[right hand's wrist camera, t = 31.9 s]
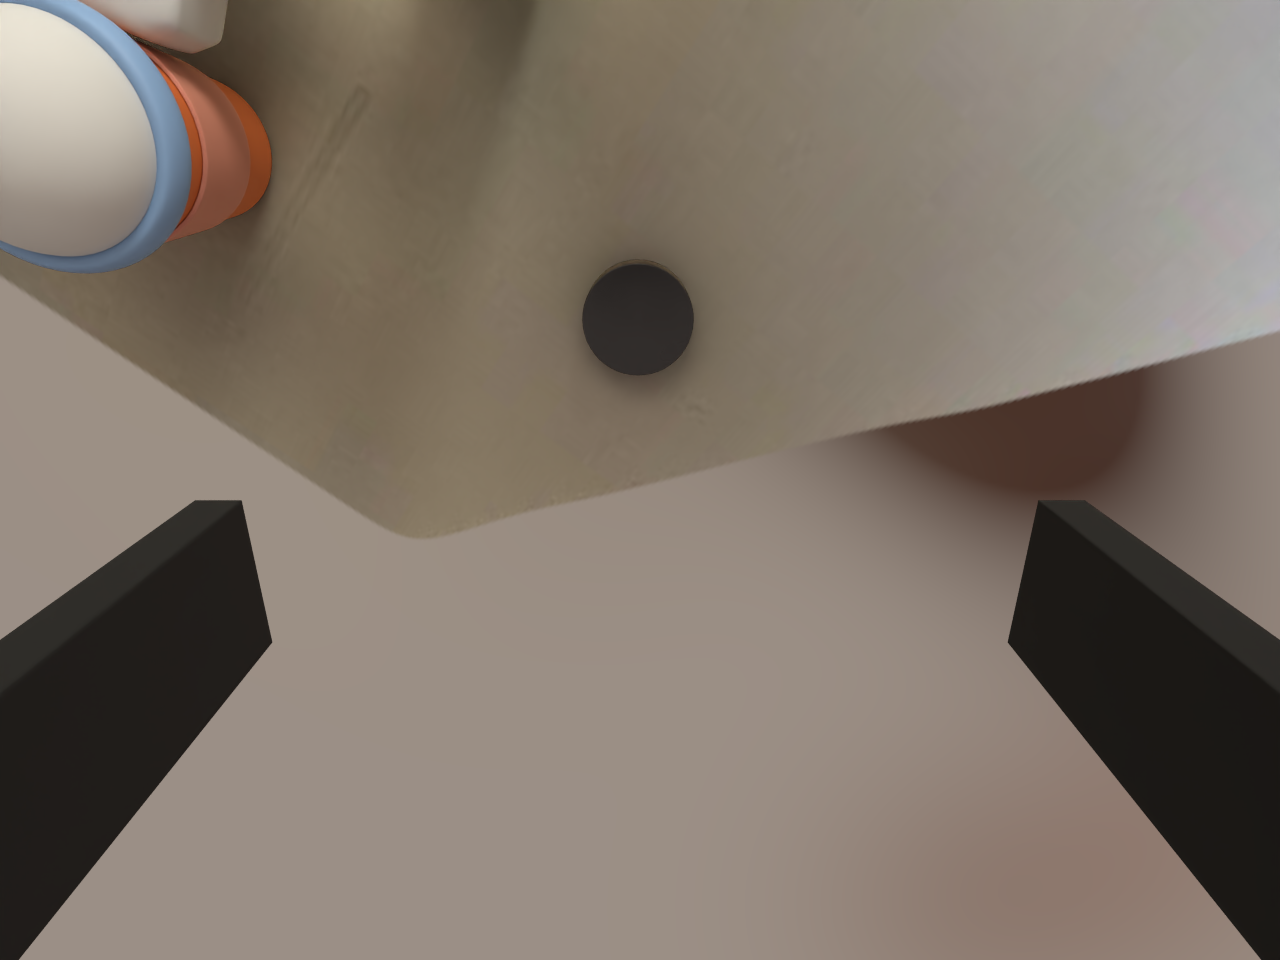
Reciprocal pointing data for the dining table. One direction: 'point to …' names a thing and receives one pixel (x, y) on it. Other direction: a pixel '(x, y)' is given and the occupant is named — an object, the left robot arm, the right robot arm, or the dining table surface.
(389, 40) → the dining table surface
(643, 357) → the lid
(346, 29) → the dining table surface
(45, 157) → the cup with straw
